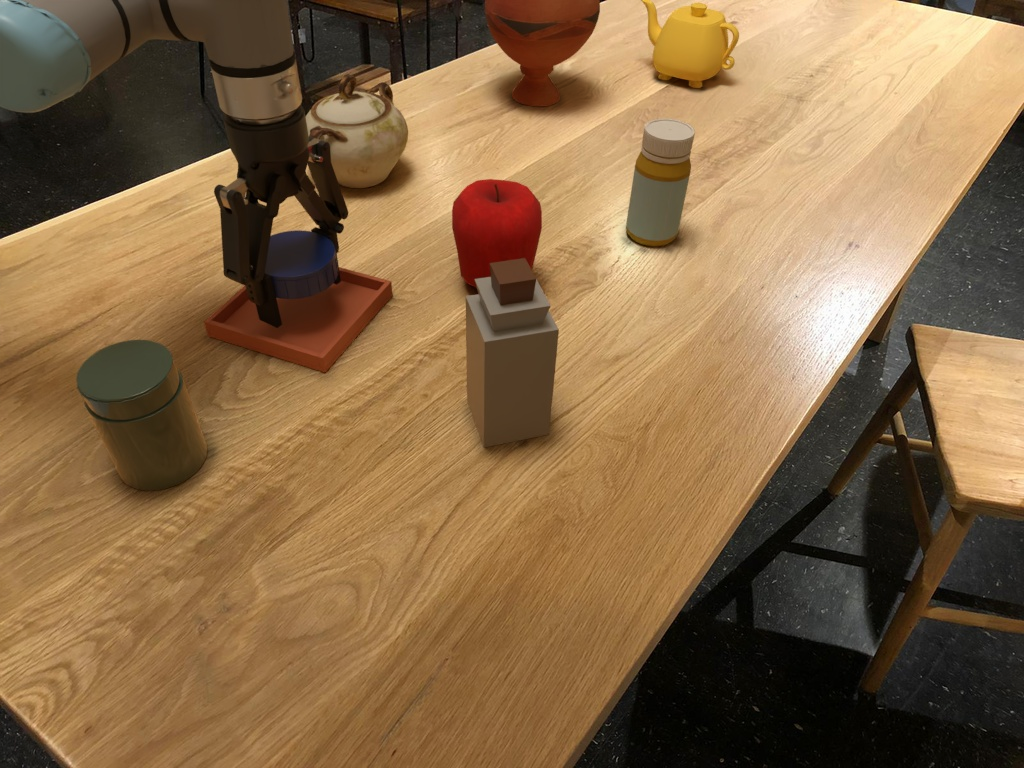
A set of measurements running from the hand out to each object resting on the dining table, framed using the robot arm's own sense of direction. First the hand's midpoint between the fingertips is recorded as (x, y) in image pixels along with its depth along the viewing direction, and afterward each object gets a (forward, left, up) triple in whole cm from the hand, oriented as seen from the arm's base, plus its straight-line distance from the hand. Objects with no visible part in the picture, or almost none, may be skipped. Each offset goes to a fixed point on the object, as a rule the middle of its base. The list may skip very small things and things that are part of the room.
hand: (301, 300), depth 87 cm
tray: (0, 0, -2) cm, 2 cm away
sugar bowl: (-11, +32, -2) cm, 34 cm away
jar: (0, -24, -2) cm, 24 cm away
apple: (+18, +15, -2) cm, 24 cm away
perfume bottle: (+28, -6, -2) cm, 29 cm away
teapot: (+24, +92, -2) cm, 95 cm away
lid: (0, 0, +6) cm, 6 cm away
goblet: (+3, +70, -2) cm, 70 cm away
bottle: (+33, +34, -2) cm, 47 cm away
